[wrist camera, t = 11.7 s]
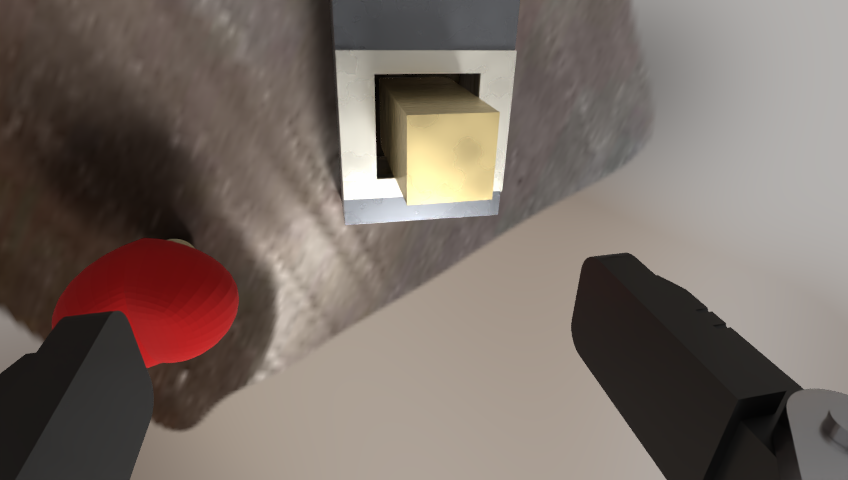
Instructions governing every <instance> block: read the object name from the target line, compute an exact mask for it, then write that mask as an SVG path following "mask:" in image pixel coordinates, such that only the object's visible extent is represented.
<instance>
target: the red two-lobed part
mask: <svg viewBox="0 0 848 480" xmlns="http://www.w3.org/2000/svg"><path fill="white" fill-rule="evenodd" d="M238 303H239V296H238V290H237V285H236V283H235V281H234V279H233V278H232V276H231V274H230V273H229V272H228V271H227V270H226V269H225V268H224V267H223V265H221V264H220V263H219V262H218V261H216V260H215V259H213V258H212V257H211V256H209V255H207V254H205V253H203V252H201V251H199V250H197V249H195V248H194V247H193V246H192V245H191V244H190V243H188V242H186V241H184V240H181V239H169V240H162V239H153V238H142V239H139V240H137V241H134V242H131V243H129V244H126V245H124V246H121V247H119V248H117V249H115V250H114V251H112V252H110V253H108V254H106V255H104V256H102V257H101V258H99V259H98V260H97V261H95V262H94V263H92V264H91V265H89V266H88V267H87V268H85V269H84V270H83V271H82V272H81V273H80V274H79V275H78V276H77V277H76V278H74V279H73V280H72V281H71V283H70V284H69V285H68V286H67V288H66V289H65V291H64V292H63V294H62V295H61V296H60V298H59V300H58V302H57V305H56V307H55V310H54V313H53V317H52V330H53V328H54V327H55V326H56V324H57V323H58V322H59V320H61V319H62V318H63V317H66V316H74V315H83V314H91V313H100V312H109V311H121V312H123V313H124V314H125V315H126V317H127V319H128V321H129V323H130V326H131V328H132V331H133V334H134V336H135V339H136V341H137V344H138V347H139V349H140V352H141V355H142V357H143V360H144V363H145V365H146V368H149V367H151V366H154V365H157V364H159V363H162V362H166V363H174V362H181V361H185V360H188V359H191V358H194V357H196V356H199V355H201V354H202V353H204V352H205V351H207V350H208V349H210V348H211V347H213V346H214V345H215V344H216V343H217V342H218V341H219V340H220V339H221V338H222V337H223V336H224V335H225V334H226V333H227V331H228V330H229V328H230V326H231V324H232V323H233V321H234V319H235V317H236V314H237V309H238Z"/></svg>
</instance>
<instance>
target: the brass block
mask: <svg viewBox="0 0 848 480" xmlns="http://www.w3.org/2000/svg"><path fill="white" fill-rule="evenodd" d="M379 95H380V135H381V148H382V150H383V152H384V155H385V157H386V159H387V161H388V164H389V166H390V168H391V171H392V173H393V175H394V177H395V180H396V182H397V184H398V186H399V189H400V191H401V193H402V195H403V198H404V200H405V202H406V204H407V205H419V204H434V203H448V202H463V201H478V200H492V196H493V185H494V174H495V162H496V151H497V140H498V128H499V117H500V112H499V111H497V110H496V109H494V108H493V107H491V106H490V105H488V104H487V103H485V102H484V101H482V100H481V99H480V98H478V97H477V96H475V95H474V94H472V93H471V92H469V91H468V90H466V89H465V88H463V87H462V86H460V85H459V84H457V83H456V82H454V81H453V80H451V79H450V78H448V77H401V78H379Z"/></svg>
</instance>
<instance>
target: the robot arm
mask: <svg viewBox="0 0 848 480" xmlns="http://www.w3.org/2000/svg"><path fill="white" fill-rule="evenodd" d="M571 331H572V337H573V342H574V345H575V348H576V350H577V352H578V354H579V355H580V357H581V358H582V360H583V361H584V362H585V364H586V365H587V367H588V368H589V370H590V371H591V372H592V374H593V375H594V377H595V378H596V379H597V381H598V382H599V384H600V385H601V387H602V388H603V390H604V391H605V392H606V394H607V395H608V397H609V398H610V399H611V401H612V402H613V404H614V405H615V407H616V408H617V409H618V411H619V412H620V414H621V415H622V416H623V418H624V419H625V421H626V422H627V424H628V425H629V427H630V428H631V429H632V431H633V432H634V433H635V435H636V437H637V438H638V439H639V441H640V442H641V444H642V445H643V446H644V448H645V449H646V451H647V452H648V454H649V455H650V456H651V458H652V459H653V461H654V462H655V463H656V465H657V466H658V468H659V469H660V471H661V472H662V474H663V475H664V476H665V478H666V479H667V480H848V395H846V394H843V393H839V392H835V391H831V390H825V389H805V390H804V389H803V388H801V386H799V385H798V384H797V383H796V382H795V381H793V380H792V379H791V378H790V377H789V376H788V375H786V374H785V373H784V372H783V371H782V370H780V369H779V368H778V367H777V366H776V365H775V364H773V363H772V362H771V361H770V360H769V359H767V358H766V357H765V356H764V355H763V354H762V353H760V352H759V351H758V350H757V349H755V348H754V347H753V346H752V345H751V344H750V343H749V342H747V341H746V340H745V339H744V338H743V337H741V336H740V335H739V334H738V333H737V332H736V331H734V330H733V329H732V328H731V327H730V328H727V327H726V323H725V322H724V321H723V320H721V319H720V318H719V317H718V316H717V315H716V314H714V313H713V312H708V309H707V307H706V306H705V305H704V304H702V303H701V302H700V301H699V300H698V299H696V298H695V297H694V296H693V295H692V294H691V293H690V292H688V291H687V290H686V289H684V288H682V287H680V286H678V285H676V284H674V283H672V282H670V281H668V280H666V279H664V278H662V277H660V276H658V275H655V274H654V273H653V272H652V271H650V270H649V269H648V268H647V267H646V266H645V265H644V264H642V263H641V262H640V261H639V260H638V259H637V258H636V257H634V256H633V255H632V254H629V253H620V254H611V255H602V256H594V257H589V258H587V259H586V260H585V261H584V263H583V265H582V269H581V274H580V279H579V284H578V290H577V295H576V301H575V306H574V311H573V317H572V323H571ZM152 411H153V387H152V382H151V379H150V376H149V373H148V371H147V368H146V365H145V363H144V360H143V357H142V355H141V352H140V349H139V347H138V344H137V341H136V339H135V336H134V334H133V331H132V328H131V326H130V323H129V321H128V319H127V317H126V315H125V314H124V313H123V312H121V311H109V312H100V313H91V314H83V315H74V316H66V317H63V318H62V319H61V320H59V322H58V323H57V324H56V326H55V327H54V328H53V330H52V331H51V333H50V334H49V335H48V337H47V338H46V340H45V341H44V342H43V344H42V345H41V347H40V348H39V350H38V351H37V352H36V353H30V354H25V355H24V356H23V357H21V358H20V359H19V360H17V361H16V362H15V363H14V364H12V365H11V366H10V367H8V368H7V369H6V370H4V371H3V372H2V373H1V374H0V480H130V477H131V474H132V471H133V468H134V465H135V463H136V460H137V457H138V454H139V451H140V448H141V446H142V443H143V440H144V437H145V434H146V431H147V428H148V426H149V423H150V420H151V416H152Z"/></svg>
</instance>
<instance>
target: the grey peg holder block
mask: <svg viewBox="0 0 848 480" xmlns="http://www.w3.org/2000/svg"><path fill="white" fill-rule="evenodd" d="M519 4H520V0H330V17H331V34H332V51H333V67H334V84H335V101H336V117H337V134H338V151H339V167H340V184H341V200H342V207H343V214H344V221H345V225H352V224H367V223H381V222H396V221H411V220H426V219H440V218H455V217H470V216H485V215H498V209H499V199H500V191H502V187H503V177H504V168H505V158H506V149H507V139H508V130H509V120H510V111H511V101H512V92H513V82H514V72H515V63H516V53H517V50H515V43H516V34H517V24H518V14H519ZM456 73H460V77H459V85H460V86H462V87H463V88H465V89H466V90H468V91H469V92H471V93H472V94H474V95H475V96H477V97H478V98H480V99H481V100H482V101H484V102H485V103H487V104H488V105H490V106H491V107H493V108H494V109H496V110H497V111H499V112H500V117H499V128H498V140H497V151H496V162H495V174H494V185H493V196H492V200H478V201H463V202H448V203H434V204H419V205H407V204H406V202H405V200H404V198H403V195H402V193H401V191H400V189H399V186H398V184H397V182H396V180H395V177H394V175H393V173H392V171H391V168H390V166H389V164H388V161H387V159H386V157H385V156H384V157H376V125H375V82H374V74H456Z"/></svg>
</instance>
